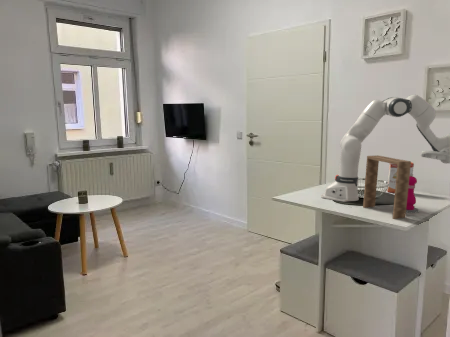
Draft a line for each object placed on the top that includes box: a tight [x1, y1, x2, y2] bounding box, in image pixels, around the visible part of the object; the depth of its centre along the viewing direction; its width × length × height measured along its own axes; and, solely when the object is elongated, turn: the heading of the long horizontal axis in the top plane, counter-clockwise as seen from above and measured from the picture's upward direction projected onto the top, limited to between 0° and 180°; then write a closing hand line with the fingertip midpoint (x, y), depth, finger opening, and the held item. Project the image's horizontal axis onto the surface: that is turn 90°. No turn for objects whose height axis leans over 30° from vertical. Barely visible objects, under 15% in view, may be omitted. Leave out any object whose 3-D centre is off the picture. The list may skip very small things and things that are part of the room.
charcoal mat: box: [406, 207, 420, 214], centre depth 207 cm, size 11×11×1 cm
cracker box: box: [386, 161, 415, 194], centre depth 247 cm, size 14×6×21 cm, turn 73°
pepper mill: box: [406, 173, 418, 210], centre depth 205 cm, size 7×7×20 cm
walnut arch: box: [362, 155, 412, 220], centre depth 199 cm, size 8×23×30 cm, turn 20°
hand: (429, 156), depth 206 cm, fingers open, 8 cm apart
